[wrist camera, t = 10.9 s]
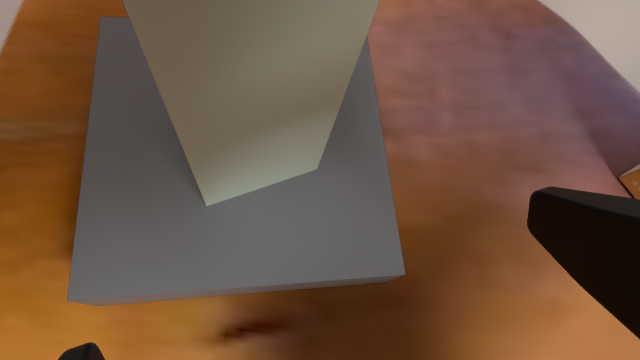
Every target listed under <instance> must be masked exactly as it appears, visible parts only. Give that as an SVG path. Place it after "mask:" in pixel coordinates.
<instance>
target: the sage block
mask: <svg viewBox="0 0 640 360" xmlns="http://www.w3.org/2000/svg"><path fill="white" fill-rule="evenodd" d="M122 1H123V4H124V6H125V9H126V11H127V13H128V16H129V18H130V21H131V23H132V26H133V28H134V31H135V33H136V35H137V38H138V40H139V43H140V45H141V48H142V50H143V53H144V55H145V57H146V60H147V62H148V65H149V67H150V70H151V72H152V75H153V77H154V79H155V82H156V84H157V87H158V89H159V92H160V94H161V96H162V99H163V101H164V104H165V106H166V109H167V111H168V114H169V116H170V118H171V121H172V123H173V126H174V128H175V131H176V133H177V136H178V138H179V140H180V143H181V145H182V148H183V150H184V153H185V155H186V158H187V160H188V162H189V165H190V167H191V170H192V172H193V175H194V177H195V179H196V182H197V184H198V187H199V189H200V192H201V194H202V197H203V199H204V201H205V204H206V206H209V205H212V204H215V203H218V202H221V201H224V200H227V199H230V198H233V197H236V196H239V195H242V194H245V193H248V192H251V191H254V190H257V189H260V188H263V187H266V186H269V185H272V184H275V183H278V182H281V181H283V180H286V179H289V178H292V177H295V176H298V175H301V174H304V173H307V172H310V171H313V170H316V169H317V168H318V165H319V162H320V160H321V157H322V154H323V152H324V149H325V146H326V144H327V141H328V138H329V136H330V133H331V130H332V127H333V125H334V122H335V119H336V117H337V114H338V111H339V109H340V106H341V103H342V101H343V98H344V95H345V92H346V90H347V87H348V84H349V82H350V79H351V76H352V74H353V71H354V68H355V66H356V63H357V60H358V57H359V55H360V52H361V49H362V47H363V44H364V41H365V39H366V36H367V33H368V31H369V28H370V25H371V22H372V20H373V17H374V14H375V12H376V9H377V6H378V4H379V1H380V0H122Z"/></svg>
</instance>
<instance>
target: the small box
mask: <svg viewBox="0 0 640 360" xmlns="http://www.w3.org/2000/svg"><path fill="white" fill-rule="evenodd" d="M619 179H620V180H621V181H622V183H623V184H624V185H625V186H626V187H627V188H628V190H629V191H630V192H631V193H632V194H633V196H634V197H635V198H636V199H640V164H639V165H637V166H635V167H634V168H632V169H631V170H629V171H628V172H626V173H624V174H623V175H621V176H620V177H619Z"/></svg>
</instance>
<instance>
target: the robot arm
mask: <svg viewBox="0 0 640 360" xmlns="http://www.w3.org/2000/svg"><path fill="white" fill-rule="evenodd" d="M527 226H528V229H529V231H530V233H531V234H532V235H533V236H534V237H535V238H536V239H537V241H538V242H539V243H540V244H541V245H542V246H543V247H544V248H545V249H546V250H547V251H548V252H549V253H550V254H551V255H552V256H553V258H554V259H555V260H556V261H557V262H558V263H559V264H560V265H561V266H562V267H563V268H564V269H565V270H566V271H567V272H568V273H569V275H570V276H571V277H572V278H573V279H574V280H575V281H576V282H577V283H578V284H579V285H580V286H581V287H582V288H583V289H584V290H586V291H587V292H588V293H589V294H590V295H591V296H592V297H593V298H594V299H595V300H596V301H598V302H599V303H600V304H601V305H602V306H603V307H604V308H605V309H607V310H608V311H609V312H610V313H611V314H612V315H613V316H614V317H615V318H617V319H618V320H619V321H620V322H621V323H622V324H623V325H624V326H625V327H627V328H628V329H629V330H630V331H631V332H632V333H633V334H634V335H636V336H637V337H638V338H639V339H640V199H634V198H627V197H620V196H613V195H606V194H599V193H592V192H586V191H579V190H572V189H565V188H558V187H546V188H543V189H540V190H537V191H535V192H533V193H532V195H531V197H530V203H529V211H528V219H527ZM58 360H105V359H104V357H103V355H102V353H101V351H100V349H99V348H98V346H97V345H96V344H95V343H91V342H90V343H86V344H83V345H80V346H77V347H74V348H71V349H69V350H67V351H65V352H64V353H63V354H62V355H61V356H60V358H59V359H58Z"/></svg>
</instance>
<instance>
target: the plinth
mask: <svg viewBox="0 0 640 360" xmlns="http://www.w3.org/2000/svg"><path fill="white" fill-rule="evenodd" d="M403 275H405V269H404V263H403V256H402V250H401V244H400V238H399V231H398V225H397V219H396V213H395V207H394V200H393V194H392V188H391V182H390V175H389V169H388V163H387V157H386V150H385V144H384V138H383V132H382V126H381V119H380V113H379V107H378V101H377V94H376V88H375V82H374V76H373V69H372V63H371V57H370V51H369V45H368V38H367V36H366V39H365V41H364V44H363V47H362V49H361V52H360V55H359V57H358V60H357V63H356V66H355V68H354V71H353V74H352V76H351V79H350V82H349V84H348V87H347V90H346V92H345V95H344V98H343V101H342V103H341V106H340V109H339V111H338V114H337V117H336V119H335V122H334V125H333V127H332V130H331V133H330V136H329V138H328V141H327V144H326V146H325V149H324V152H323V154H322V157H321V160H320V162H319V165H318V168H317V169H316V170H313V171H310V172H307V173H304V174H301V175H298V176H295V177H292V178H289V179H286V180H283V181H281V182H278V183H275V184H272V185H269V186H266V187H263V188H260V189H257V190H254V191H251V192H248V193H245V194H242V195H239V196H236V197H233V198H230V199H227V200H224V201H221V202H218V203H215V204H212V205H209V206H206V204H205V201H204V199H203V197H202V194H201V192H200V189H199V187H198V184H197V182H196V179H195V177H194V175H193V172H192V170H191V167H190V165H189V162H188V160H187V158H186V155H185V153H184V150H183V148H182V145H181V143H180V140H179V138H178V136H177V133H176V131H175V128H174V126H173V123H172V121H171V118H170V116H169V114H168V111H167V109H166V106H165V104H164V101H163V99H162V96H161V94H160V92H159V89H158V87H157V84H156V82H155V79H154V77H153V75H152V72H151V70H150V67H149V65H148V62H147V60H146V57H145V55H144V53H143V50H142V48H141V45H140V43H139V40H138V38H137V35H136V33H135V31H134V28H133V26H132V23H131V21H130V18H129V17H101V20H100V28H99V36H98V45H97V53H96V62H95V70H94V78H93V87H92V95H91V104H90V112H89V120H88V129H87V137H86V145H85V154H84V162H83V171H82V179H81V187H80V196H79V204H78V213H77V221H76V229H75V238H74V246H73V255H72V263H71V271H70V280H69V288H68V297H67V301H69V302H76V303H82V304H89V305H95V306H102V305H114V304H126V303H139V302H151V301H163V300H175V299H188V298H200V297H212V296H225V295H237V294H249V293H261V292H274V291H286V290H298V289H311V288H323V287H335V286H347V285H360V284H372V283H384V282H387V281H390V280H392V279H395V278H398V277H400V276H403Z"/></svg>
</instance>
